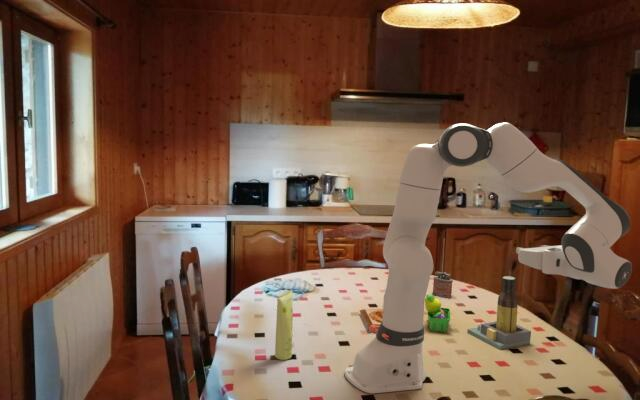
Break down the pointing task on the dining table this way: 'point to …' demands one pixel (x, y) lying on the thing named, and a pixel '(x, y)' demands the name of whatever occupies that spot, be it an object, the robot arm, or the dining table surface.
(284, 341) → the tube
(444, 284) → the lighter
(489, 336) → the socket
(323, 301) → the dining table surface
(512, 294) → the sauce bottle
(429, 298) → the fruit basket
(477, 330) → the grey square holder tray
